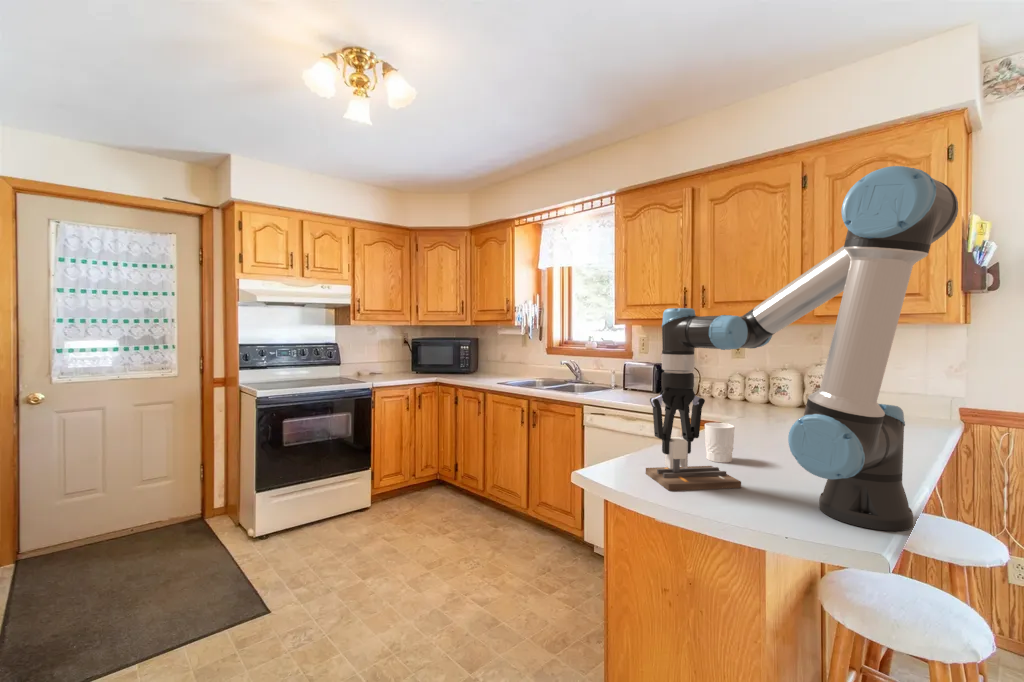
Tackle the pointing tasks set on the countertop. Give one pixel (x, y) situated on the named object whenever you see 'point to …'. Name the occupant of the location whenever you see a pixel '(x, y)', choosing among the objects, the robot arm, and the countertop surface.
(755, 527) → the countertop surface
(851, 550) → the countertop surface
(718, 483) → the board
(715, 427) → the white cup
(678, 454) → the block
